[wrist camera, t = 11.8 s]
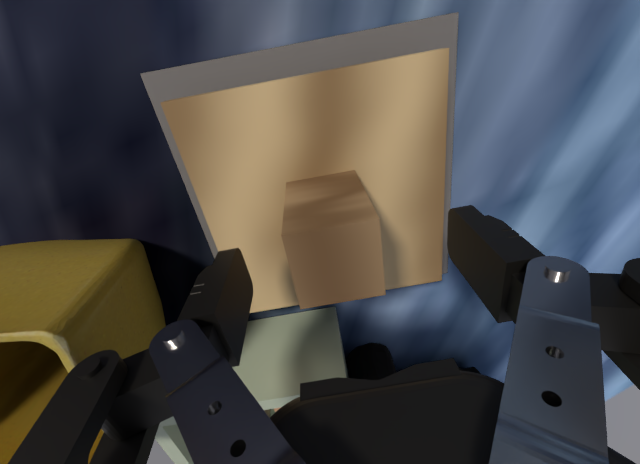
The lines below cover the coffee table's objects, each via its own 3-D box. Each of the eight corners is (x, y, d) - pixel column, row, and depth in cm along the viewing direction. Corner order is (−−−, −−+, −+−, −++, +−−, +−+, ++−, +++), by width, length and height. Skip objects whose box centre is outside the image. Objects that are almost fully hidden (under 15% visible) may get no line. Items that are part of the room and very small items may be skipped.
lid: (430, 49, 14) (533, 42, 8) (428, 260, 20) (487, 352, 14) (176, 97, 14) (86, 127, 8) (247, 291, 20) (225, 395, 14)
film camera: (475, 421, 30) (539, 552, 22) (376, 445, 31) (403, 578, 23) (462, 309, 22) (550, 444, 15) (333, 343, 23) (351, 488, 16)
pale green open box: (335, 306, 21) (347, 386, 16) (353, 401, 27) (367, 485, 22) (178, 333, 22) (140, 420, 16) (227, 422, 27) (211, 509, 22)
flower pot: (62, 329, 21) (-80, 492, 13) (-3, 210, 17) (-271, 346, 9) (196, 323, 21) (138, 477, 14) (166, 207, 17) (56, 332, 9)
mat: (455, 12, 14) (458, 12, 13) (445, 269, 20) (447, 272, 20) (143, 73, 14) (139, 73, 14) (235, 306, 21) (234, 309, 21)
